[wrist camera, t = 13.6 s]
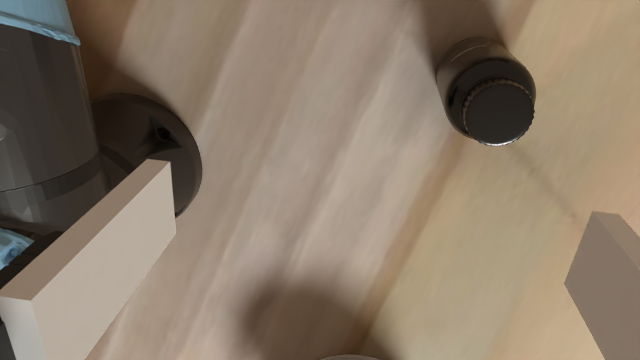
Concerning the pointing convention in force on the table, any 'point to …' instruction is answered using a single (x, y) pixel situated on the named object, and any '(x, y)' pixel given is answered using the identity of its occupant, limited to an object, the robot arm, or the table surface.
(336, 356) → the container
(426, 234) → the table surface
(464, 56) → the supplement bottle
